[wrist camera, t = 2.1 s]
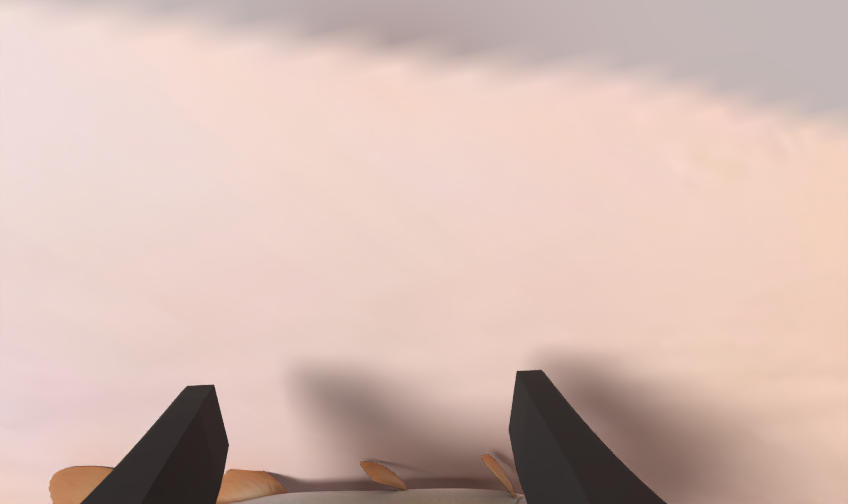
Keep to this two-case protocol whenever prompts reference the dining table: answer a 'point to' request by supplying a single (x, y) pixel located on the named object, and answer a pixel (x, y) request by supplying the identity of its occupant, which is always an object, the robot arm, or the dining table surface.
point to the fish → (267, 500)
